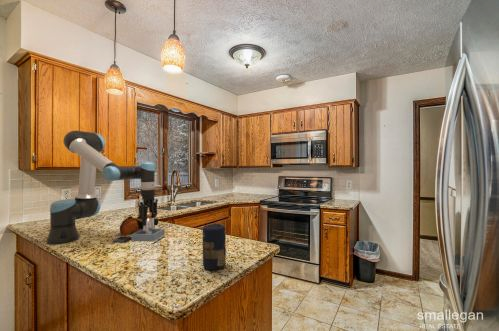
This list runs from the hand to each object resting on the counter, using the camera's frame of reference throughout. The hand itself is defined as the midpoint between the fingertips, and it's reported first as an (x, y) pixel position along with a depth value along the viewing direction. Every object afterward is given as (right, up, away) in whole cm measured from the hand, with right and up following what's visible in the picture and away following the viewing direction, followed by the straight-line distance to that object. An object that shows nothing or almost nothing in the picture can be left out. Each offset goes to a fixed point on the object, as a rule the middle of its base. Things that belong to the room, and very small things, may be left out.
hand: (148, 230), depth 142 cm
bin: (0, -6, 0) cm, 6 cm away
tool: (-12, -6, +15) cm, 20 cm away
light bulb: (0, -3, 0) cm, 3 cm away
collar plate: (-13, -6, -4) cm, 15 cm away
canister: (+43, -5, -40) cm, 59 cm away
